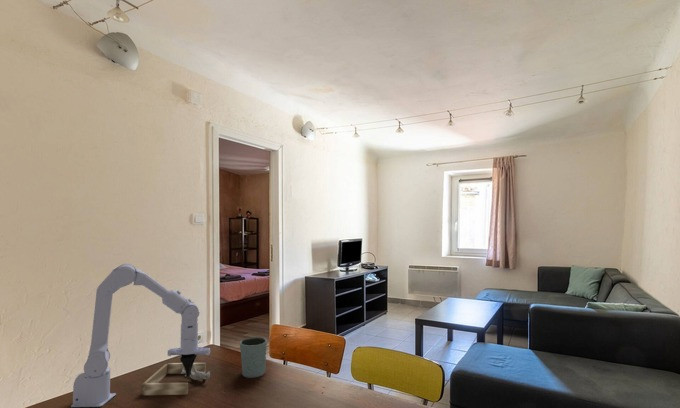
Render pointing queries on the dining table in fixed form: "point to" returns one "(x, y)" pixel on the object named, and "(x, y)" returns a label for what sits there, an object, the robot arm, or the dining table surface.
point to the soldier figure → (197, 374)
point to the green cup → (253, 356)
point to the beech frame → (157, 388)
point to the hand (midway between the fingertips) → (188, 375)
